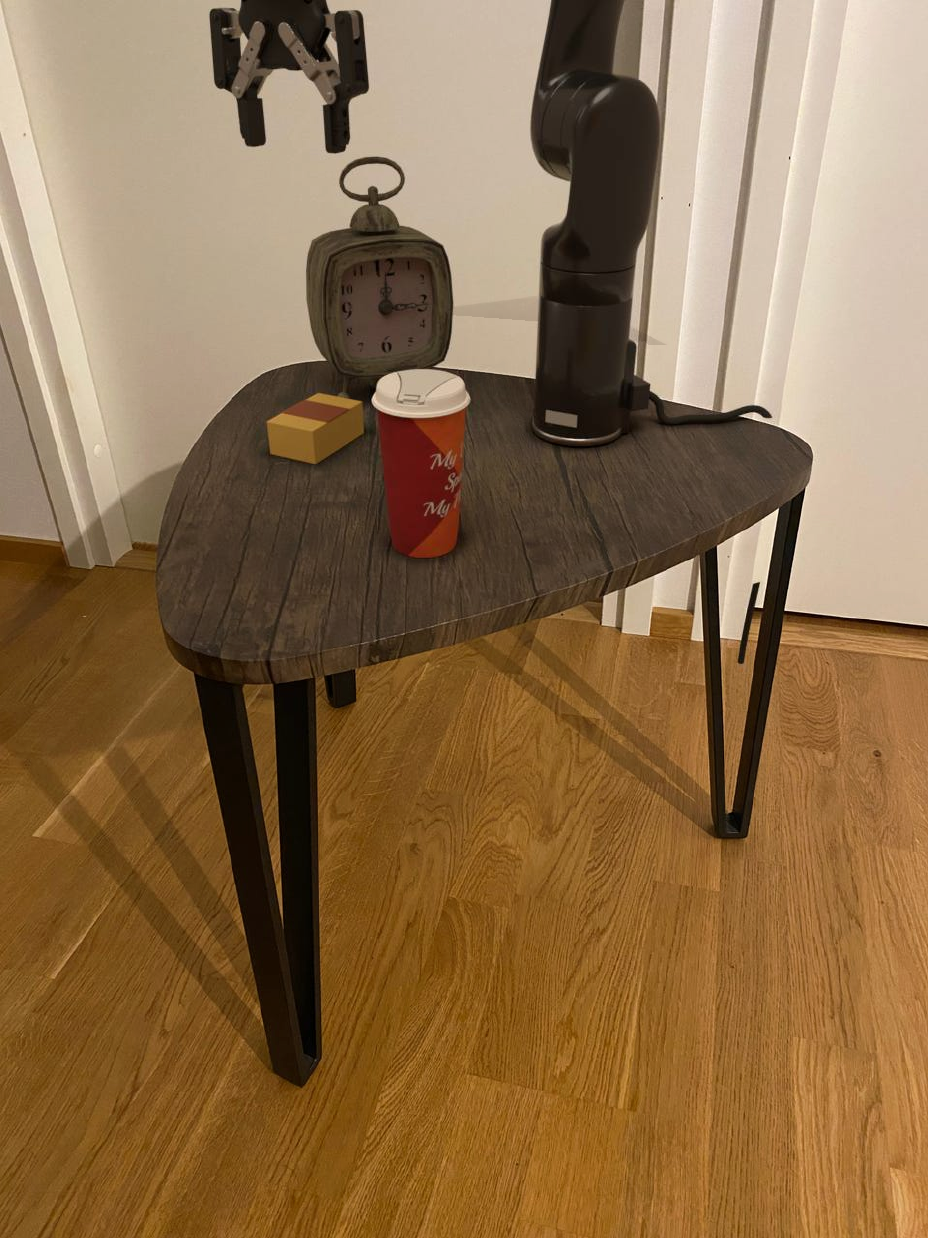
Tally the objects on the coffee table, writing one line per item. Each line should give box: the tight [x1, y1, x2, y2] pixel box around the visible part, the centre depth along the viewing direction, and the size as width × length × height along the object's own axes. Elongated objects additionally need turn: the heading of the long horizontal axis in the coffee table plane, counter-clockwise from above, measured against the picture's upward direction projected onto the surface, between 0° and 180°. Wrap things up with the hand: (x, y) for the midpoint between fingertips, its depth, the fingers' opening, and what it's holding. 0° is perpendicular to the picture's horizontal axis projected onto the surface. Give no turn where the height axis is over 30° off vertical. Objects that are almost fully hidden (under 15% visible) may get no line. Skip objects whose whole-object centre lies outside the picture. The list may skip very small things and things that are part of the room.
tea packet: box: [266, 392, 365, 465], centre depth 100 cm, size 9×6×4 cm, turn 153°
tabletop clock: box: [305, 156, 454, 399], centre depth 106 cm, size 14×9×25 cm, turn 111°
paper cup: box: [371, 368, 471, 559], centre depth 80 cm, size 8×8×14 cm
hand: (295, 148), depth 86 cm, fingers open, 8 cm apart
